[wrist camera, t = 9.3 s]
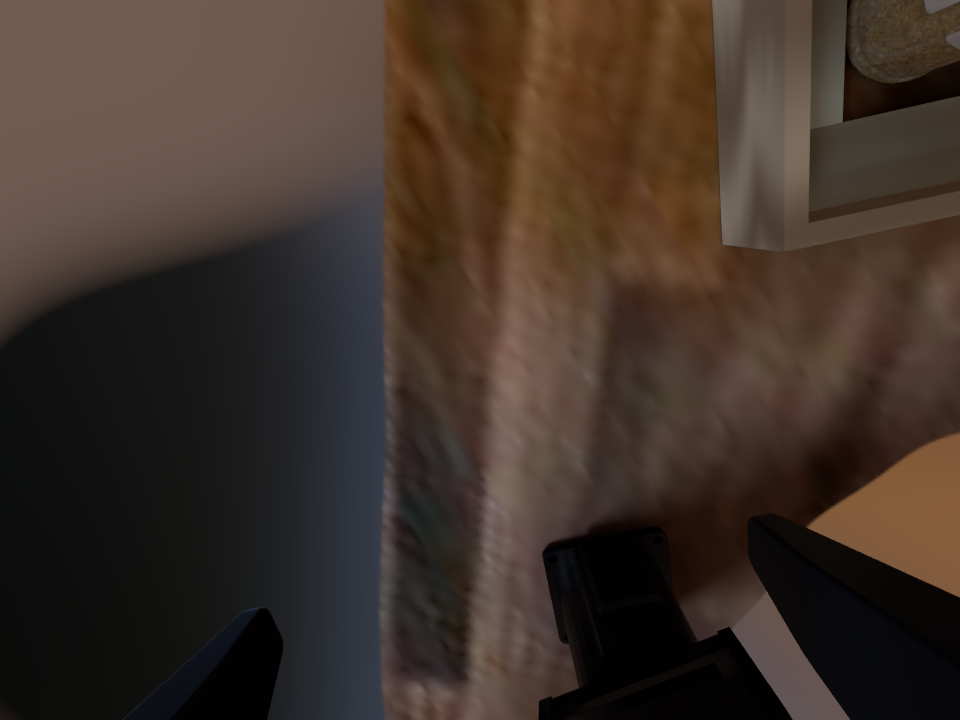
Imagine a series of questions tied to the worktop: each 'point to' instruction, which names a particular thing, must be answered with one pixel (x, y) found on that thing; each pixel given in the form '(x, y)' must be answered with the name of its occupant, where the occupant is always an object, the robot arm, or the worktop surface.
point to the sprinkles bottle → (902, 37)
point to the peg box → (817, 135)
